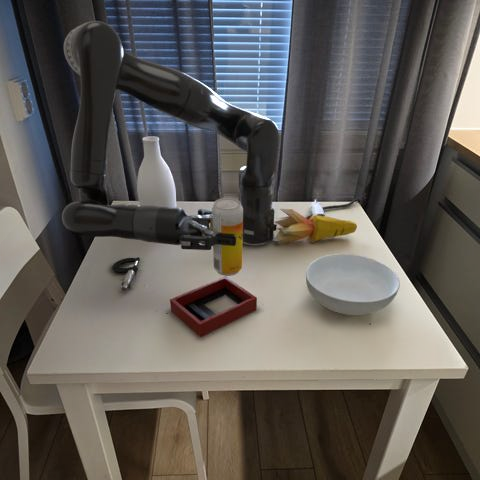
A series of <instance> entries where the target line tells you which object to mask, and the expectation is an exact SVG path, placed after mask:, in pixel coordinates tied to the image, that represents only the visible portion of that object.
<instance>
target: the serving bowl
mask: <svg viewBox="0 0 480 480" xmlns="http://www.w3.org/2000/svg"><path fill="white" fill-rule="evenodd" d="M305 284H306V287H307V290H308V292H309V293H310V295H311V296H312V298H313V299H314V300H315V301H316V302H317V303H318V304H320V306H323V307H324V308H326V309H327V310H329V311H332V312H335V313H339V314H341V315H342V314H343V315H348V316H365V315H370V314H373V313H376V312H378V311H381V310H383V309H385V308H386V307H387V306H389V305H390V304H391V303H392V301H393V300H394V299H395V297H396V296H397V294H398V292H399V290H400V287H401V280H400V278H399V276H398V274H397V273H396V272H395V270H393V269H392V268H391V267H389V266H388V265H387V264H385V263H383V262H381V261H379V260H376V259H375V258H371V257H367V256H363V255H359V254H353V253H351V254H349V253H335V254H328V255H325V256H321V257H319V258H317V259H315V260H313V261H312V262H310V264H308V266H307V268H306V270H305Z"/></svg>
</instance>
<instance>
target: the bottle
mask: <svg viewBox="0 0 480 480" xmlns="http://www.w3.org/2000/svg"><path fill="white" fill-rule="evenodd" d="M141 140H142V143H143V159H142V161H141V164H140V166H139V168H138V173H137V179H136V193H137V198H138V203H139V206H149V205H150V206H163V207H174V208H177V191H176V184H175V180H174V177H173V174H172V172H171V169H170V167H169V166H168V164H167V163H166V161H165V160H164V158H163V157H162V154H161V148H160V147H161V146H160V142H159V141H160V137H159V136H155V135H149V136H144V137H142V139H141Z"/></svg>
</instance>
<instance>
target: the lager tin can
mask: <svg viewBox="0 0 480 480" xmlns="http://www.w3.org/2000/svg"><path fill="white" fill-rule="evenodd" d="M211 211H212V226H213V232H215V233H217V234H218V233H226V234H235V235H236V245H235V246H229V245H219V244H217V245H216V246H212V254H213V256H212V257H213V269H214V270H215V271H216V273H218V275H221V276H223V277H225V276H226V277H231V276H235V275H237V274H239V272H240V271H241V270H242V269H243V245H244V244H243V207H242V205H241V202H240V201H239V199H237V198H233V197H223V198H219V199H216V200H215V201H214V202H213V205H212V207H211Z"/></svg>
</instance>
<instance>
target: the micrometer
mask: <svg viewBox="0 0 480 480" xmlns="http://www.w3.org/2000/svg"><path fill="white" fill-rule="evenodd" d="M140 260H141V258H140V257H139V256H137V257H126V258H122V259H119V260H117V261H116V262H114V264H113V265H112V267H111V269H112V271H113V273H115V274H119V275H120V274H122V275H123V274H125V275H124V278H123V280H122V281H121V287H120V288H121V291H122V292H127V290H128V289H131V287H132V283H133V281H134V279H135V276H136V275H137V272H138V270H139V267H138V264H139V263H140ZM125 264H130V265H128V266H129V267H121V266H123V265H125Z"/></svg>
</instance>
